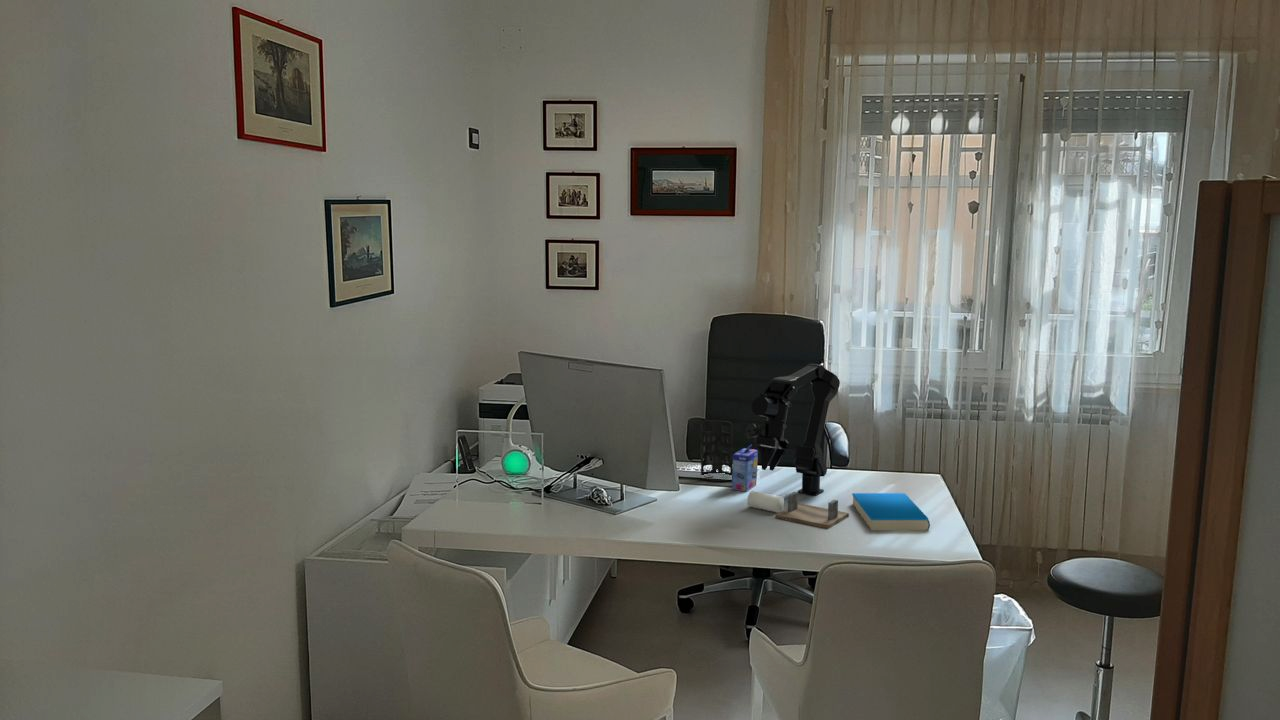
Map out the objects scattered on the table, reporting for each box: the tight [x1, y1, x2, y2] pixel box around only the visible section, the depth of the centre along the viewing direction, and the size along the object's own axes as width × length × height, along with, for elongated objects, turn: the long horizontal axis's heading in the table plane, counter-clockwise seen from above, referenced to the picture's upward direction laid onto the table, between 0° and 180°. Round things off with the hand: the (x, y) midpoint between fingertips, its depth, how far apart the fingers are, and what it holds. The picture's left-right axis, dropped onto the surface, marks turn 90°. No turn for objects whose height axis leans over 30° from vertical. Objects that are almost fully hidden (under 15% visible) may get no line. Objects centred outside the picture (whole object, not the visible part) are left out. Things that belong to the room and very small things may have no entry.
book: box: [851, 492, 931, 531], centre depth 282 cm, size 17×4×25 cm
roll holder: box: [775, 491, 850, 530], centre depth 281 cm, size 14×17×6 cm
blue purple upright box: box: [731, 444, 759, 493], centre depth 311 cm, size 10×6×14 cm, turn 152°
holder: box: [699, 420, 733, 483], centre depth 321 cm, size 11×8×20 cm
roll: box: [746, 490, 785, 514], centre depth 289 cm, size 5×10×5 cm, turn 53°
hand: (767, 470), depth 287 cm, fingers open, 9 cm apart
